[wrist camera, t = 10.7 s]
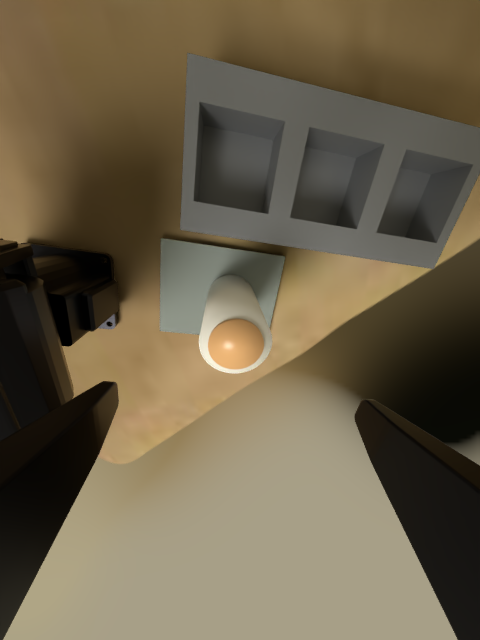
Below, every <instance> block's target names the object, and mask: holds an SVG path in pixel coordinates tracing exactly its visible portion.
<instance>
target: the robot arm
mask: <svg viewBox="0 0 480 640" xmlns="http://www.w3.org/2000/svg"><path fill="white" fill-rule="evenodd" d="M103 257H105V258H106V259H107V263H106V262H104V261H103ZM118 310H119V301H118V286H117V282H116V280H114V268H113V259H112V257H111V256H110V255H109V254H107V253H101V252H94V251H86V250H79V249H71V248H64V247H57V246H49V245H42V244H35V243H21V244H18V243H17V242H16V241H7V240H3V239H0V640H3V639H4V637H5V635H6V633H7V631H8V629H9V627H10V625H11V623H12V621H13V619H14V617H15V615H16V613H17V612H18V609H19V608H20V606H21V604H22V602H23V600H24V598H25V596H26V594H27V592H28V590H29V588H30V586H31V584H32V582H33V581H34V579H35V577H36V575H37V573H38V571H39V569H40V567H41V565H42V563H43V561H44V559H45V557H46V556H47V554H48V552H49V550H50V548H51V546H52V544H53V542H54V540H55V538H56V536H57V534H58V532H59V530H60V529H61V527H62V525H63V523H64V521H65V519H66V517H67V515H68V513H69V511H70V509H71V507H72V505H73V503H74V502H75V499H76V498H77V496H78V494H79V492H80V490H81V488H82V486H83V484H84V482H85V480H86V478H87V476H88V474H89V472H90V471H91V469H92V467H93V465H94V463H95V460H96V459H97V457H98V455H99V453H100V450H101V448H102V445H103V443H104V440H105V438H106V435H107V433H108V430H109V428H110V425H111V423H112V420H113V418H114V415H115V413H116V410H117V407H118V402H119V399H118V387H117V383H116V382H109V381H103V382H101V383H99V384H97V385H95V386H94V387H92V388H90V389H89V390H87V391H85V392H83V393H82V394H80V395H78V396H77V397H75V398H73V396H74V392H73V384H72V380H71V377H70V373H69V370H68V366H67V363H66V359H65V355H64V352H63V348H62V346H71V345H72V344H74V343H75V342H76V341H77V340H79V339H80V338H81V337H82V336H83V335H85V334H86V333H87V332H88V331H95V330H96V329H97V328H102V329H113V328H115V327H116V325H117V311H118ZM108 321H110V322H111V323H112V324H113V325H111V324H109V322H108ZM72 398H73V399H72ZM355 422H356V424H357V427H358V430H359V432H360V435H361V437H362V440H363V442H364V445H365V448H366V450H367V453H368V456H369V458H370V460H371V463H372V465H373V467H374V469H375V471H376V473H377V475H378V477H379V479H380V481H381V484H382V486H383V488H384V490H385V492H386V494H387V496H388V498H389V500H390V502H391V504H392V506H393V508H394V510H395V512H396V514H397V516H398V518H399V520H400V522H401V524H402V526H403V529H404V531H405V532H406V535H407V537H408V539H409V541H410V543H411V545H412V547H413V549H414V551H415V553H416V555H417V557H418V559H419V561H420V563H421V565H422V567H423V569H424V572H425V573H426V576H427V578H428V580H429V582H430V583H431V586H432V588H433V590H434V592H435V594H436V596H437V598H438V600H439V602H440V604H441V606H442V608H443V610H444V612H445V614H446V617H447V618H448V621H449V622H450V625H451V626H452V629H453V631H454V633H455V635H456V637H457V639H458V640H480V466H479V465H478V464H476V463H475V462H473V461H471V460H470V459H468V458H467V457H465V456H463V455H462V454H460V453H458V452H457V451H455V450H454V449H452V448H451V447H449V446H447V445H445V444H444V443H443V442H441V441H439V440H438V439H436V438H435V437H433V436H431V435H430V434H428V433H426V432H425V431H423V430H422V429H420V428H419V427H417V426H415V425H414V424H412V423H410V422H408V421H407V420H406V419H404V418H403V417H401V416H399V415H398V414H396V413H395V412H393V411H391V410H390V409H388V408H386V407H385V406H383V405H382V404H380V403H378V402H377V401H375V400H372V399H363V400H362V401H361V402H360V405H359V407H358V409H357V411H356V413H355Z"/></svg>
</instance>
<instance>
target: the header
mask: <svg viewBox="0 0 480 640" xmlns="http://www.w3.org/2000/svg"><path fill="white" fill-rule="evenodd" d="M479 174H480V128H479V127H475V126H471V125H467V124H464V123H460V122H456V121H452V120H448V119H444V118H440V117H436V116H432V115H428V114H425V113H421V112H417V111H413V110H409V109H405V108H401V107H397V106H393V105H389V104H386V103H382V102H378V101H374V100H370V99H366V98H362V97H358V96H354V95H350V94H347V93H343V92H339V91H335V90H331V89H327V88H323V87H319V86H315V85H311V84H307V83H304V82H300V81H296V80H292V79H288V78H284V77H280V76H276V75H272V74H268V73H265V72H261V71H257V70H253V69H249V68H245V67H241V66H237V65H233V64H229V63H226V62H222V61H218V60H214V59H210V58H206V57H202V56H198V55H194V54H190V53H187V78H186V102H185V126H184V150H183V174H182V198H181V222H180V230H185V231H191V232H198V233H204V234H211V235H217V236H224V237H230V238H236V239H243V240H249V241H256V242H262V243H269V244H275V245H282V246H288V247H295V248H301V249H308V250H314V251H321V252H327V253H333V254H340V255H346V256H353V257H359V258H366V259H372V260H379V261H385V262H392V263H398V264H405V265H411V266H418V267H424V268H430V269H434V267H435V265H436V263H437V261H438V259H439V257H440V255H441V253H442V251H443V248H444V246H445V244H446V242H447V240H448V238H449V236H450V234H451V232H452V230H453V228H454V226H455V224H456V222H457V219H458V217H459V215H460V213H461V211H462V209H463V207H464V205H465V203H466V201H467V199H468V197H469V195H470V193H471V190H472V188H473V186H474V184H475V182H476V180H477V178H478V176H479Z"/></svg>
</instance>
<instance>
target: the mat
mask: <svg viewBox="0 0 480 640" xmlns="http://www.w3.org/2000/svg"><path fill="white" fill-rule="evenodd" d="M284 261H285V256H281V255H274V254H268V253H261V252H254V251H247V250H241V249H234V248H227V247H220V246H214V245H207V244H200V243H194V242H187V241H180V240H173V239H167V238H161V263H160V331H166V332H176V333H186V334H197V335H200V332H201V327H202V322H203V317H204V311H205V306H206V301H207V296H208V291H209V288H210V286H211V285H212V283H213V282H214V281H215V280H216V279H218V278H219V277H222V276H224V275H237V276H240V277H242V278H244V279H245V280H246V281H248V283H249V284H250V285H251V287H252V289H253V292H254V294H255V296H256V299H257V301H258V303H259V306H260V308H261V310H262V312H263V315H264V317H265V319H266V322H267V324H268V326H269V328H270V324H271V319H272V315H273V310H274V306H275V301H276V297H277V292H278V288H279V283H280V279H281V274H282V270H283V265H284Z"/></svg>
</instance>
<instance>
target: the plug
mask: <svg viewBox="0 0 480 640" xmlns="http://www.w3.org/2000/svg"><path fill="white" fill-rule="evenodd" d="M271 346H272V334H271V331H270V329H269V326H268V324H267V322H266V319H265V317H264V315H263V312H262V310H261V308H260V306H259V303H258V301H257V299H256V296H255V294H254V292H253V289H252V287H251V285H250V284H249V283H248V281H246V280H245V279H244V278H242V277H240V276H237V275H224V276H222V277H219V278H218V279H216V280H215V281H214V282H213V283H212V285H211V286H210V288H209V291H208V296H207V301H206V306H205V311H204V317H203V322H202V327H201V332H200V337H199V348H200V352H201V354H202V356H203V358H204V359H205V361H206V362H207V363H208V364H209V365H211V366H212V367H213V368H215V369H217V370H219V371H222V372H226V373H243V372H247V371H250V370H252V369H254V368H256V367H257V366H259V365H260V364H261V363H262V362H263V361H264V360H265V359H266V358H267V356H268V354H269V352H270V350H271Z"/></svg>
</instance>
